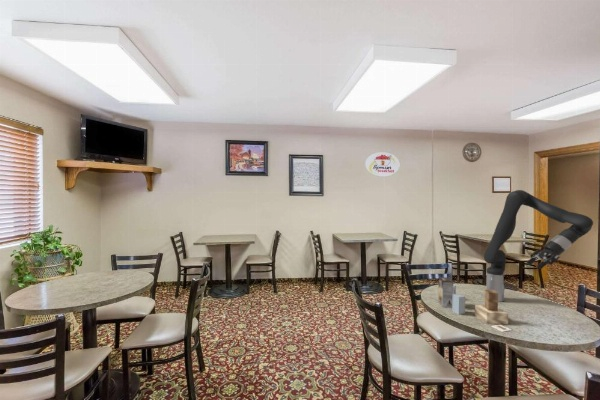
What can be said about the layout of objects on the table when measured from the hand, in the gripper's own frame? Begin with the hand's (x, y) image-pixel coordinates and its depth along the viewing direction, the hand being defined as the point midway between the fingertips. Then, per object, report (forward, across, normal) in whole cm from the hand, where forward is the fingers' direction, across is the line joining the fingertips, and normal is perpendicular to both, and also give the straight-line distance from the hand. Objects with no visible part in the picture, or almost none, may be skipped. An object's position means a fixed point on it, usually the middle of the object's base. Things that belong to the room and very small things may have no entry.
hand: (533, 265), depth 151 cm
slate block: (+46, -6, -3) cm, 47 cm away
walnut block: (+32, 0, +3) cm, 32 cm away
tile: (+36, +12, +7) cm, 39 cm away
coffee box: (+49, -18, -5) cm, 52 cm away
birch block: (+36, 0, +7) cm, 37 cm away
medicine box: (+44, -32, 0) cm, 55 cm away
